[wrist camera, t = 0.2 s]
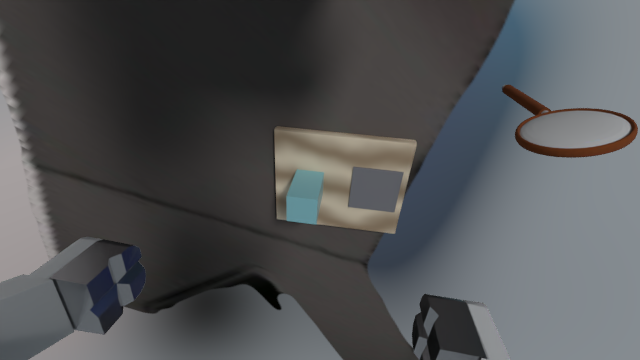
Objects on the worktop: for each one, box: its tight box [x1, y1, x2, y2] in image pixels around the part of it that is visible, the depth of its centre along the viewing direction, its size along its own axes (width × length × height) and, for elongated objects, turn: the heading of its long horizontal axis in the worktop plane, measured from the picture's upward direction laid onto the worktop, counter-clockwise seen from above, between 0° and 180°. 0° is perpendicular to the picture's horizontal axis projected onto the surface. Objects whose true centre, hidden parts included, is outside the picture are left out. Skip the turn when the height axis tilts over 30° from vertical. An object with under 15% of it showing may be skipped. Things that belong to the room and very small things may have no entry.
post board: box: [274, 126, 417, 234], centre depth 50 cm, size 18×22×6 cm
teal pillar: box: [286, 169, 324, 224], centre depth 48 cm, size 5×5×8 cm
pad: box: [348, 167, 404, 212], centre depth 50 cm, size 8×8×1 cm
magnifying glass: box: [502, 85, 638, 157], centre depth 33 cm, size 9×2×20 cm, turn 107°
